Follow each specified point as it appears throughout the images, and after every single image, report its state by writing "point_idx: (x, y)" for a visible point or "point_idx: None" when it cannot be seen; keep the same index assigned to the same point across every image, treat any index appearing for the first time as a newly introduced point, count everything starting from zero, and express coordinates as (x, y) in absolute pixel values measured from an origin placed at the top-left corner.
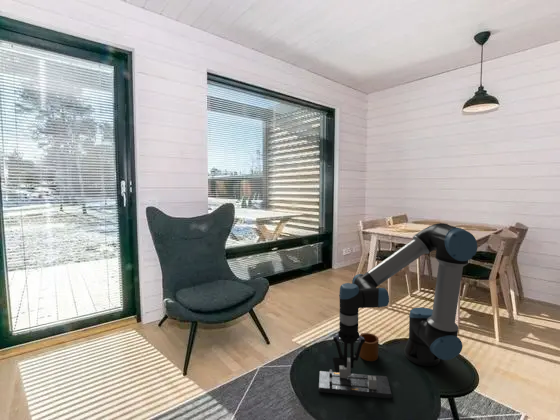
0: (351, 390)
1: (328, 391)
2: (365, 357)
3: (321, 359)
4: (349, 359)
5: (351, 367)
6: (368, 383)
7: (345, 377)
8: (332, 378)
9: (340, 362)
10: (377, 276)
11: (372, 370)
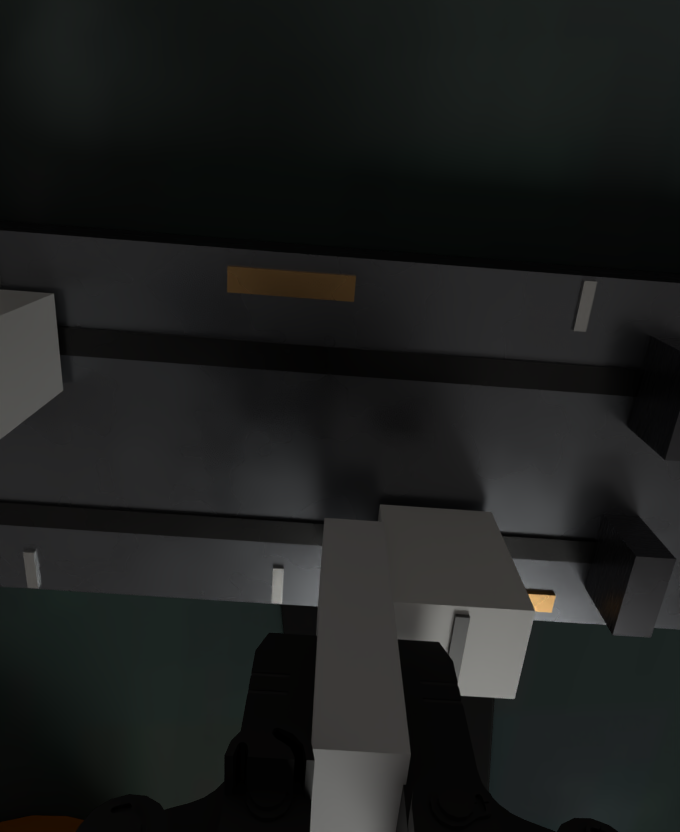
0: (343, 257)
1: None
2: None
3: (616, 820)
4: (329, 826)
5: (296, 642)
6: (8, 324)
7: (402, 514)
8: (598, 501)
9: None
10: None
11: (25, 687)
